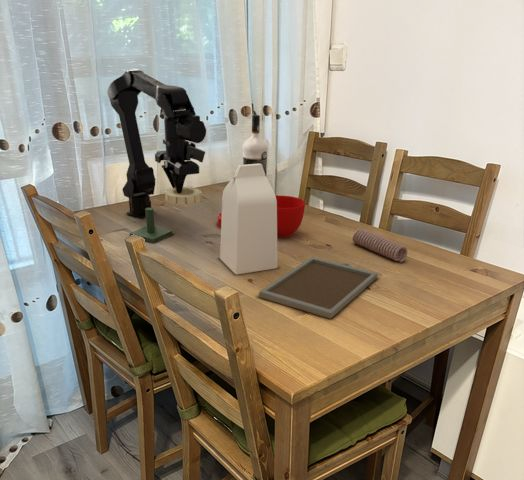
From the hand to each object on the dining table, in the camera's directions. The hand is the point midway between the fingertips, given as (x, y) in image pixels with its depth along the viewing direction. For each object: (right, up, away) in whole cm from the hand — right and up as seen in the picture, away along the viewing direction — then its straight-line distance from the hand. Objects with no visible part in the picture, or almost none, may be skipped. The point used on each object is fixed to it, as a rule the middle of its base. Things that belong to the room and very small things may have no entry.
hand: (177, 192), depth 165 cm
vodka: (+22, +3, +29) cm, 36 cm away
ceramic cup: (+30, -10, +8) cm, 33 cm away
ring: (+2, -3, -2) cm, 4 cm away
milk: (+21, -24, -14) cm, 35 cm away
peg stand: (-8, -13, +1) cm, 15 cm away
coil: (+59, -19, -4) cm, 62 cm away
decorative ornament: (+16, -7, +12) cm, 21 cm away
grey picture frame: (+40, -31, -25) cm, 57 cm away
